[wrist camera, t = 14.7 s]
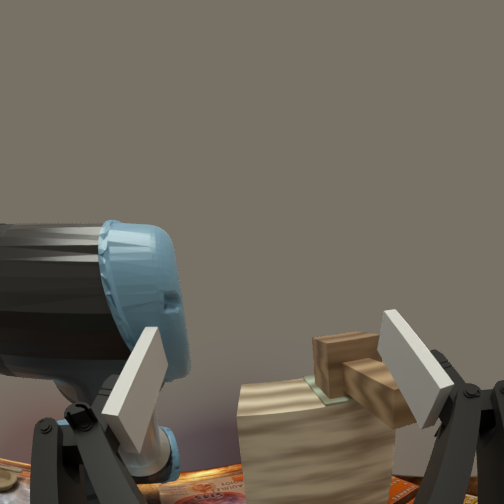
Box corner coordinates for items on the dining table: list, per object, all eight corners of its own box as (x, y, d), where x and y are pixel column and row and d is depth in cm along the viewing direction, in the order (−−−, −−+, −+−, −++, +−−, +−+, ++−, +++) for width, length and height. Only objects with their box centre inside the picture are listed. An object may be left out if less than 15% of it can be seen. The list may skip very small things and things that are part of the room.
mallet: (444, 420, 20) (447, 342, 22) (372, 444, 20) (372, 361, 22) (359, 375, 46) (357, 331, 47) (315, 383, 46) (312, 337, 47)
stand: (381, 533, 28) (396, 388, 34) (254, 556, 28) (236, 413, 34) (354, 489, 46) (355, 368, 52) (254, 504, 45) (241, 382, 51)
